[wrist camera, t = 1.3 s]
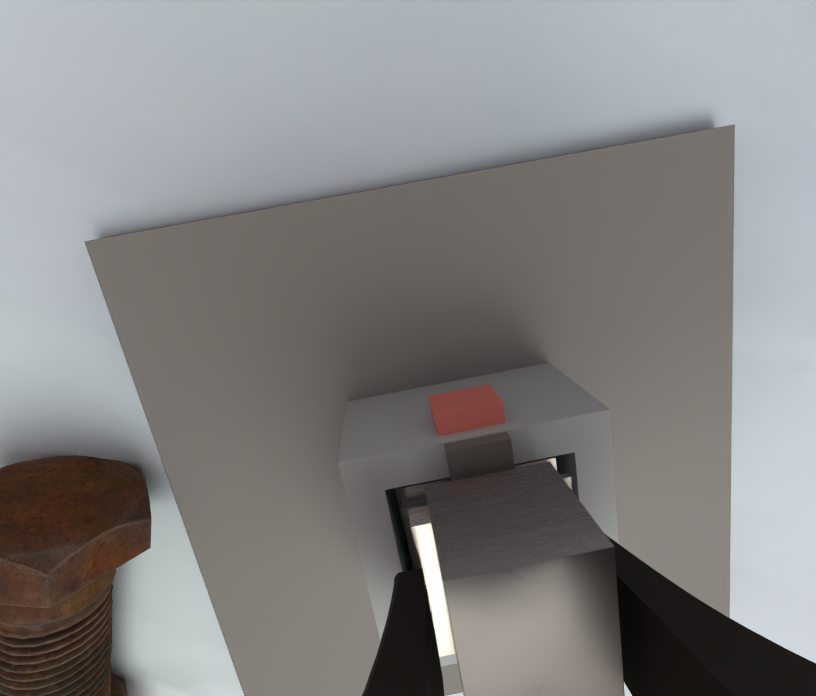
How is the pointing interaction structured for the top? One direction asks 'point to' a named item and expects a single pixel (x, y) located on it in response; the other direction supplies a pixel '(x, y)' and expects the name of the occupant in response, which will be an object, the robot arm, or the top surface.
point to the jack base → (434, 380)
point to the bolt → (65, 571)
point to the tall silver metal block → (518, 582)
